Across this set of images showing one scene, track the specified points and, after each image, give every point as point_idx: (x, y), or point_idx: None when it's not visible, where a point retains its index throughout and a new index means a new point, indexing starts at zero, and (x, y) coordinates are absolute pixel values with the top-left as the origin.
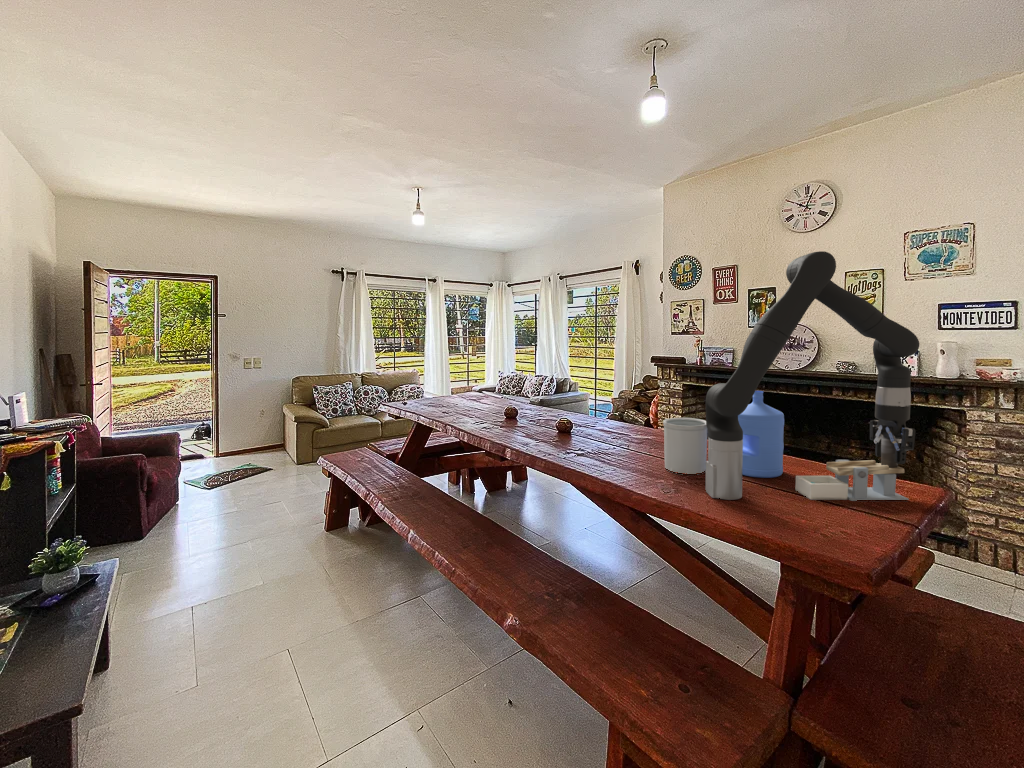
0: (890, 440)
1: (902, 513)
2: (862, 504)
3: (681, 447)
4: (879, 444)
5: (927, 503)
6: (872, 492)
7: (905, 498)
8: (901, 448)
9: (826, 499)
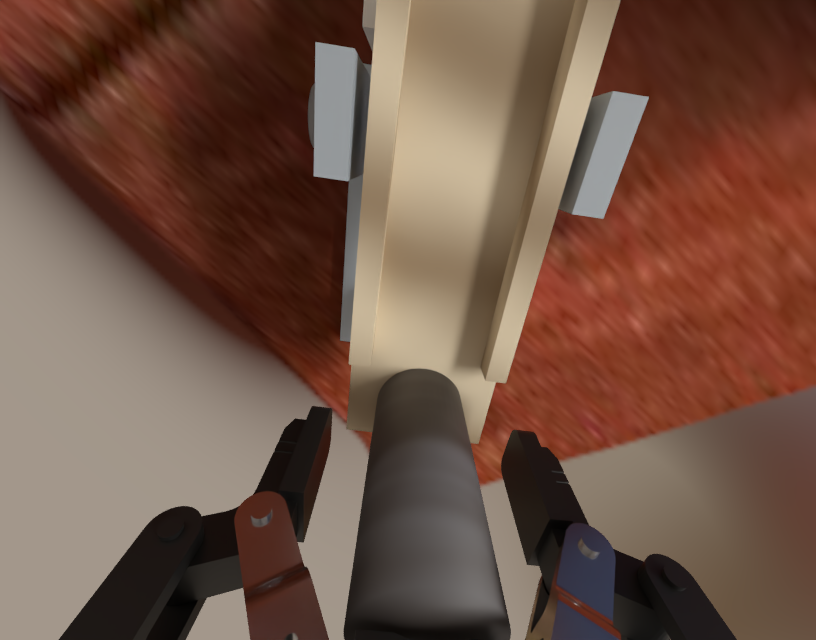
0: (357, 601)
1: (190, 190)
2: (302, 89)
3: None
4: (542, 530)
5: (313, 373)
6: None
7: (343, 331)
8: (180, 518)
9: None
